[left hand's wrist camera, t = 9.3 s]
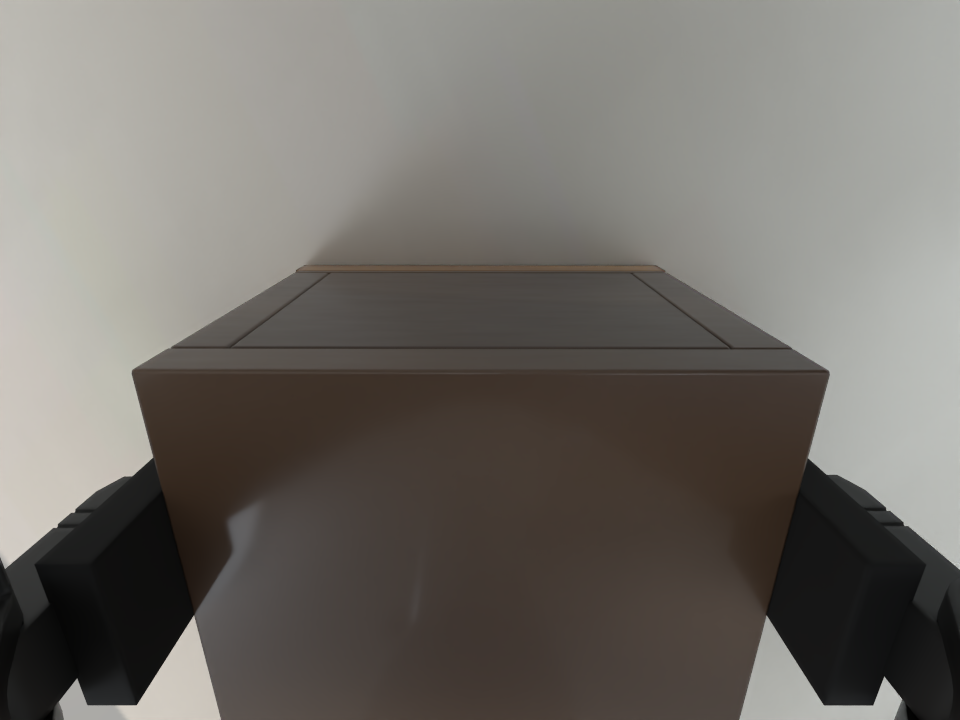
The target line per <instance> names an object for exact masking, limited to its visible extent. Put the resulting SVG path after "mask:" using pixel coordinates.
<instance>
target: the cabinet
mask: <svg viewBox="0 0 960 720" xmlns="http://www.w3.org/2000/svg"><path fill="white" fill-rule="evenodd" d="M829 375H830V374H829V371H828V370H827V369H825V368H823V367H822V366H820V365H818V364H817V363H815V362H813V361H812V360H810V359H808V358H807V357H805V356H803V355H802V354H800V353H798V352H797V351H795V350H793V349H792V348H791V347H789V346H788V345H786V344H784V343H783V342H781V341H779V340H778V339H776V338H774V337H773V336H771V335H769V334H768V333H766V332H764V331H763V330H761V329H759V328H758V327H756V326H754V325H753V324H751V323H749V322H748V321H746V320H744V319H743V318H741V317H739V316H738V315H736V314H734V313H733V312H731V311H729V310H728V309H726V308H724V307H723V306H721V305H719V304H718V303H716V302H714V301H713V300H711V299H709V298H708V297H706V296H704V295H703V294H701V293H699V292H698V291H696V290H694V289H693V288H691V287H689V286H688V285H686V284H684V283H683V282H681V281H679V280H678V279H676V278H674V277H673V276H671V275H669V274H668V273H665V270H663V269H661V268H660V267H658V266H521V265H304V266H303V267H301V268H299V269H298V270H296V272H295V273H294V274H292V275H290V276H289V277H287V278H285V279H284V280H282V281H280V282H279V283H277V284H275V285H274V286H272V287H270V288H269V289H267V290H265V291H264V292H262V293H260V294H259V295H257V296H255V297H254V298H252V299H250V300H249V301H247V302H245V303H244V304H242V305H240V306H239V307H237V308H235V309H234V310H232V311H230V312H229V313H227V314H225V315H224V316H222V317H220V318H219V319H217V320H215V321H214V322H212V323H210V324H209V325H207V326H205V327H204V328H202V329H201V330H199V331H197V332H196V333H194V334H192V335H191V336H189V337H187V338H186V339H184V340H182V341H181V342H179V343H177V344H176V345H174V346H172V347H171V349H167V350H165V351H163V352H161V353H160V354H158V355H156V356H155V357H153V358H151V359H150V360H148V361H146V362H145V363H143V364H141V365H140V366H138V367H136V368H135V369H133V370H132V376H133V380H134V384H135V388H136V392H137V396H138V400H139V403H140V407H141V411H142V415H143V419H144V423H145V427H146V431H147V434H148V438H149V442H150V446H151V450H152V454H153V458H154V461H155V465H156V469H157V473H158V477H159V481H160V485H161V489H162V492H163V496H164V500H165V504H166V508H167V512H168V516H169V519H170V523H171V527H172V531H173V535H174V539H175V543H176V546H177V550H178V554H179V558H180V562H181V566H182V570H183V574H184V577H185V581H186V585H187V589H188V593H189V597H190V601H191V604H192V608H193V612H194V616H195V620H196V624H197V628H198V632H199V635H200V639H201V643H202V647H203V651H204V655H205V659H206V662H207V666H208V670H209V674H210V678H211V682H212V686H213V690H214V693H215V697H216V701H217V705H218V709H219V713H220V717H221V720H739V718H740V715H741V711H742V707H743V703H744V699H745V695H746V692H747V688H748V684H749V680H750V676H751V673H752V669H753V665H754V661H755V657H756V654H757V650H758V646H759V642H760V638H761V634H762V631H763V627H764V623H765V619H766V615H767V612H768V608H769V604H770V600H771V596H772V593H773V589H774V585H775V581H776V577H777V574H778V570H779V566H780V562H781V558H782V554H783V551H784V547H785V543H786V539H787V535H788V532H789V528H790V524H791V520H792V516H793V513H794V509H795V505H796V501H797V497H798V493H799V490H800V486H801V482H802V478H803V474H804V471H805V467H806V463H807V459H808V455H809V452H810V448H811V444H812V440H813V436H814V432H815V429H816V425H817V421H818V417H819V413H820V410H821V406H822V402H823V398H824V394H825V391H826V387H827V383H828V379H829Z"/></svg>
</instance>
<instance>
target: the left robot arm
mask: <svg viewBox="0 0 960 720" xmlns="http://www.w3.org/2000/svg"><path fill="white" fill-rule="evenodd" d="M75 510H76V511H75V513H71V514H69V515H68V516H67V517H66V518H65V519H64V520H62V521H61V522H60V523H59V524H58V527H57V528H53V529H52V530H51V531H49V532H48V533H47V534H46V535H45V536H44V537H42V538H41V539H40V540H39V541H38V542H37V543H35V544H34V545H33V546H32V547H31V548H29V549H28V550H27V551H26V552H25V553H24V554H22V555H21V556H20V557H19V558H18V559H17V560H15V561H14V562H13V563H12V564H11V565H10V566H8V567H7V568H6V569H5V568H4V566H3V563H2V561H1V558H0V720H64V718H63V713H62V709H61V707H60V704H59V701H60V699H61V698H62V697H63V695H64V694H65V693H66V692H67V690H68V689H69V688H70V687H71V685H72V684H73V683H74V681H75V680H76V679H78V681H79V684H80V687H81V689H82V692H83V694H84V697H85V700H86V702H87V705H137V704H138V702H139V701H140V699H141V698H142V696H143V694H144V693H145V691H146V690H147V688H148V686H149V685H150V683H151V682H152V680H153V679H154V677H155V675H156V674H157V672H158V671H159V669H160V668H161V666H162V664H163V663H164V661H165V660H166V658H167V657H168V655H169V653H170V652H171V650H172V649H173V647H174V646H175V644H176V642H177V641H178V639H179V638H180V636H181V635H182V633H183V631H184V630H185V628H186V627H187V625H188V624H189V622H190V620H191V619H192V617H193V616H194V612H193V608H192V604H191V601H190V597H189V593H188V589H187V585H186V581H185V577H184V574H183V570H182V566H181V562H180V558H179V554H178V550H177V546H176V543H175V539H174V535H173V531H172V527H171V523H170V519H169V516H168V512H167V508H166V504H165V500H164V496H163V492H162V489H161V485H160V481H159V477H158V473H157V469H156V465H155V461H154V458H153V459H151V460H150V461H149V462H148V463H147V464H146V465H145V466H144V467H142V468H141V469H140V470H139V471H138V472H137V473H136V474H135V475H134V476H132V477H123V478H121V479H119V480H117V481H115V482H113V483H111V484H110V485H108V486H106V487H104V488H102V489H100V490H98V491H97V492H95V493H94V494H93V495H92V496H91V497H89V498H88V499H87V500H86V501H85V502H84V503H82V504H81V505H80V506H79V507H78V508H77V509H75ZM903 523H904V522H902V521H901V520H900V519H899V518H898V517H896V516H895V515H894V514H893V513H892V512H891V511H886V507H885V506H883V505H882V504H881V503H880V502H879V501H878V500H876V499H875V498H874V497H873V496H872V495H870V494H869V493H868V492H867V491H866V490H864V489H862V488H860V487H859V486H857V485H855V484H853V483H851V482H849V481H847V480H845V479H844V478H842V477H840V476H838V475H826V474H825V473H824V472H823V471H822V470H820V469H819V468H818V467H817V466H816V465H815V464H814V463H813V462H811V461H810V460H809V459H807V463H806V467H805V471H804V474H803V478H802V482H801V486H800V490H799V493H798V497H797V501H796V505H795V509H794V513H793V516H792V520H791V524H790V528H789V532H788V535H787V539H786V543H785V547H784V551H783V554H782V558H781V562H780V566H779V570H778V574H777V577H776V581H775V585H774V589H773V593H772V596H771V600H770V604H769V608H768V612H767V616H768V618H769V620H770V621H771V623H772V624H773V626H774V627H775V629H776V631H777V632H778V634H779V635H780V637H781V638H782V640H783V642H784V643H785V645H786V646H787V648H788V649H789V651H790V653H791V654H792V656H793V657H794V659H795V660H796V662H797V664H798V665H799V667H800V668H801V670H802V671H803V673H804V675H805V676H806V678H807V679H808V681H809V682H810V684H811V686H812V687H813V689H814V690H815V692H816V693H817V695H818V697H819V698H820V700H821V701H822V703H823V704H824V705H873V704H874V702H875V699H876V697H877V694H878V691H879V689H880V686H881V683H882V681H883V678H884V676H885V678H886V679H887V680H888V682H889V683H890V684H891V685H892V687H893V688H894V689H895V690H896V692H897V693H898V694H899V695H900V697H901V698H902V702H901V704H900V707H899V709H898V712H897V714H896V717H895V719H894V720H960V570H959V569H958V568H957V567H956V566H954V565H953V564H952V563H951V562H950V561H949V560H947V559H946V558H945V557H944V556H943V555H941V554H940V553H939V552H938V551H937V550H936V549H934V548H933V547H932V546H931V545H930V544H928V543H927V542H926V541H925V540H924V539H922V538H921V537H920V536H919V535H918V534H917V533H915V532H914V531H913V530H912V529H911V528H909V527H908V526H904V524H903Z"/></svg>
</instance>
